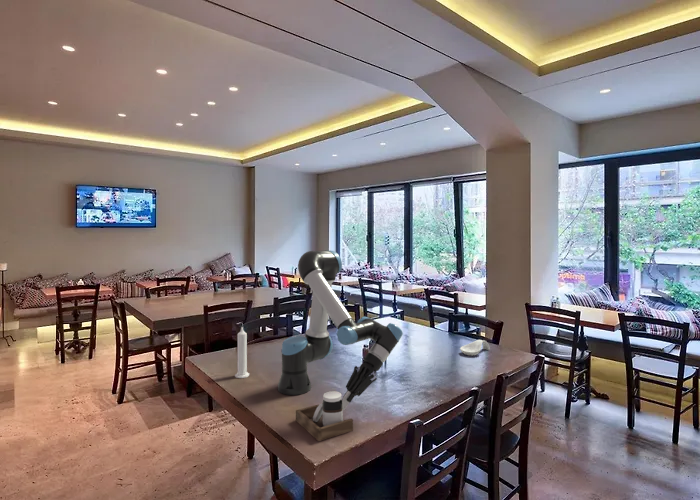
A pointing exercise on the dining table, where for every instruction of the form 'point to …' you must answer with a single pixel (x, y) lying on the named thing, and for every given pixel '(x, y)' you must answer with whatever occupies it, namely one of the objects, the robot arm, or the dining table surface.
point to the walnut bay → (322, 432)
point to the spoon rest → (474, 347)
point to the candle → (242, 355)
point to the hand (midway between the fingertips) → (341, 407)
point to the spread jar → (330, 409)
